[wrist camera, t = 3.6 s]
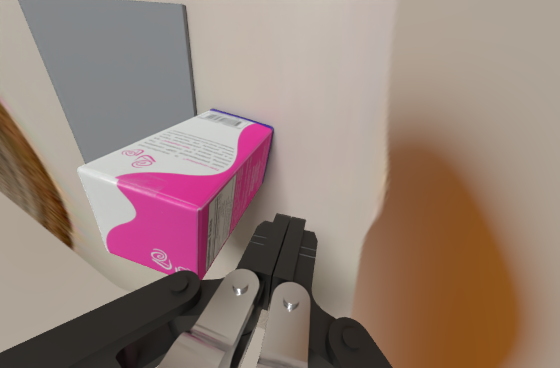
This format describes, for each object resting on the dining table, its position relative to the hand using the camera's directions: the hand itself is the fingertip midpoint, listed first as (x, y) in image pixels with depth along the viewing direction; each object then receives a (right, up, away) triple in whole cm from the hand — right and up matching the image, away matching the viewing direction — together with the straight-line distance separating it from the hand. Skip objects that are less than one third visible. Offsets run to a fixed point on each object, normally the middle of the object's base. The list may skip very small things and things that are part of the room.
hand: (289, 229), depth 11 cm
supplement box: (-4, +6, +9) cm, 11 cm away
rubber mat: (-15, +8, +10) cm, 20 cm away
